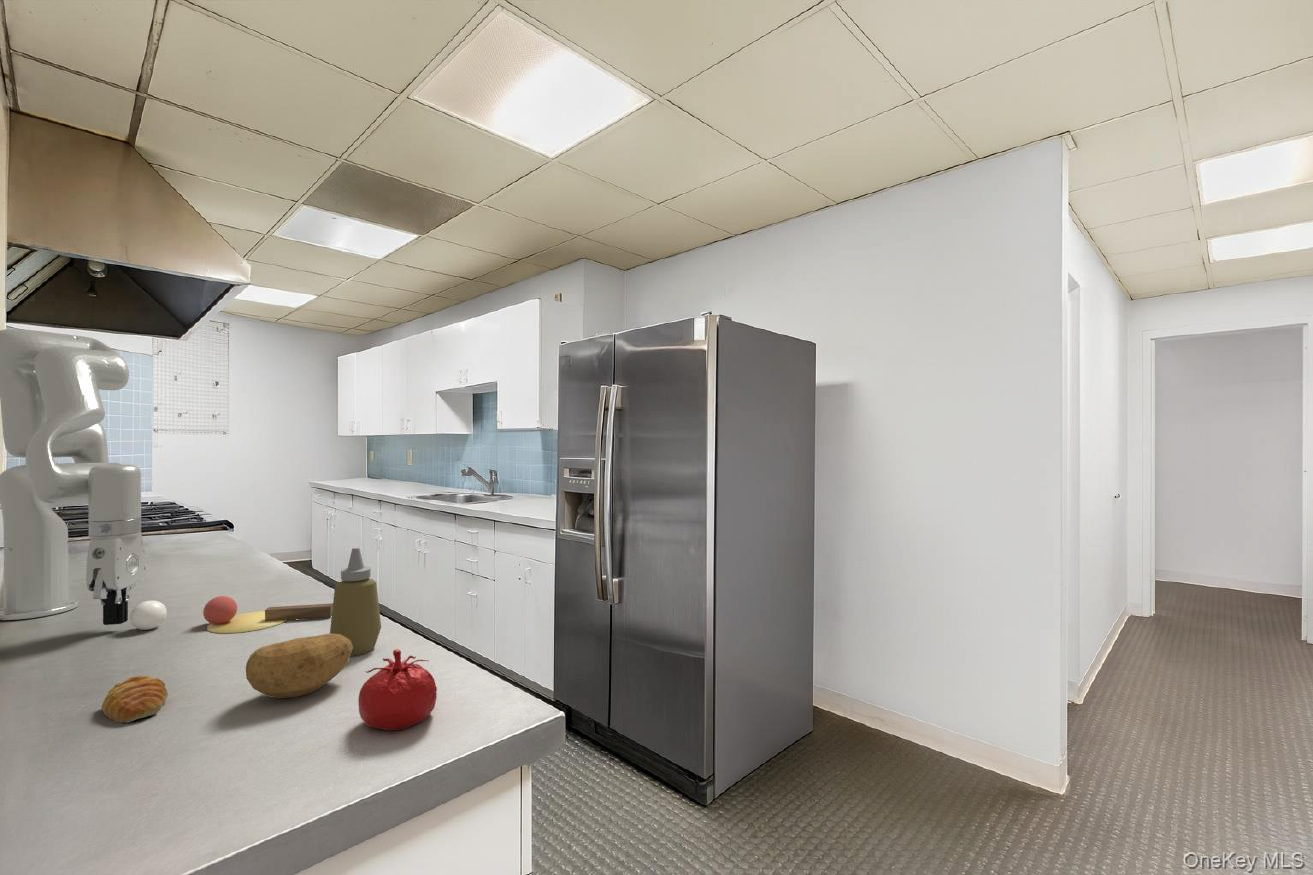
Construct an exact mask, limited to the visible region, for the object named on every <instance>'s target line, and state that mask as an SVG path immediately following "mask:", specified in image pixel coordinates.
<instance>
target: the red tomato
mask: <svg viewBox="0 0 1313 875" xmlns="http://www.w3.org/2000/svg"><path fill="white" fill-rule="evenodd" d="M392 655H393V658H394V661H393V660H392V659H391V658H384V657H382V661H383V662H388V664H387V665H386V666H384V667H373V668H372V669H370V670H368V671H367V670H366V671H364V673H366V674H367V673H371V672H373V671H375V670H379V671H378V672H376V673H375V674H372V676H370V677H369V678H368V679H367V680H366V681H365V682H364V683H363V685H361V688H360V690H359V695H358V714H359V716H360V719H361V720H362V721H363V722H364V723H365V725H367V726H369V727H370V728H374V729H380V730H386V731H398V730H399V731H400V730H404V729H406V728H409V727H411V726H414V725H416V724H419V723H421V722H422V721H423V720H425V719H427V717H429V716H430V715H431V713H432V712H433V711H434V709H435V707H436V702H437V697H438V696H437V692H438V691H437V690H438V687H437V684H436V681H435V678H434V677H433V675H432V673H431V672H430V671H428V670H427V669H425V668H424V667H423V666H421V665H420V664H418V663H416V662H430V660H425V659H417V660H415V659H416V656H413V655H409V656H408V657H406V659H404V660H401V659H402V651H401V650H400V649H394V650H393V651H392ZM410 659H414V661H412V662H410V663H409V660H410ZM407 662H408V663H407Z"/></svg>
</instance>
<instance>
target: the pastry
mask: <svg viewBox="0 0 1313 875" xmlns="http://www.w3.org/2000/svg"><path fill="white" fill-rule="evenodd" d="M168 695H169V692H168V690H167V688H166V684H165V682H164V681H163V680H161V679H160V678H156V677H154V678H153V677H152V676H150V675H136V676H131V677H129V678H126V679H125V680H123V681H121V682H118V683H116V684H115V685H114V686H113V687H112V688H111V689H109V690H108V692H107V695H106V696H105V697H104V700H103V702H102V705H101V710H102V712H103V713H104V716H106V717H107V718H109V719H110V720H113V721H115V722H117V723H127V724H129V723H131V722H134V721H135V720H136V721H137V720H138V719H139V720H140V719H142V718H146V717H149V716H155V715H156V714H158V712H159V711H160V710H161V709H162V708H163V707H164V706H165V704H166V700H167V698H168Z"/></svg>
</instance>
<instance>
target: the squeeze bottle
mask: <svg viewBox="0 0 1313 875" xmlns="http://www.w3.org/2000/svg"><path fill="white" fill-rule="evenodd" d="M362 556H363V555H362V552H361V548H360V547H353V548H351V552H350V557H349V560H348V565H347V568H344V569H342V570H340V579H341V581H339V582H338V583H337V584H335V585H334V591H333V601H332V603H333V609H332V617H331V618H330V628H329V634H340V635H343V636H345V637H347V638H348V639H349V640H351V642H352V645H353V649H352V652H351V654H350V656H351V657H352V656H358V655H363V654H366V653H368V652H371V651H372V650H374V649H375V647H376V644H377V642H378V639H379V638H378V637H379V635H380V633H381V629H382V622H381V620H382V619H381V614H380V613H381V612H380V611H381V610H380V603H379V596H378V587H377V586H378V584H377V581H376V580H374V579H373V578H371V572H372V571H371V570H372V569H371V567H370V566H365V564H364V561H363V557H362Z"/></svg>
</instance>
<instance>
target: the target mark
mask: <svg viewBox="0 0 1313 875" xmlns="http://www.w3.org/2000/svg"><path fill="white" fill-rule="evenodd" d="M285 621H286V620H278V621H265V610H260V611H259V610H258V611H252V612H244V613H239V614H235V616H234V617H233V618H232V619H231V620H230V621H228V622H227V623H224V624H218V625H216V624H211V623H209V624H208V625H207V626H206V630H207V631H208V632H210V633H214V634H241V633H247V632H248V631H249V632H254V631H260V630H264V629H269V628H272V627H271V626H273V627H275V626H274V625H276V626H278V625H281V624H283V622H284V623H286V622H287V621H286V622H285ZM268 627H269V628H268ZM249 632H248V633H249Z"/></svg>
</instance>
